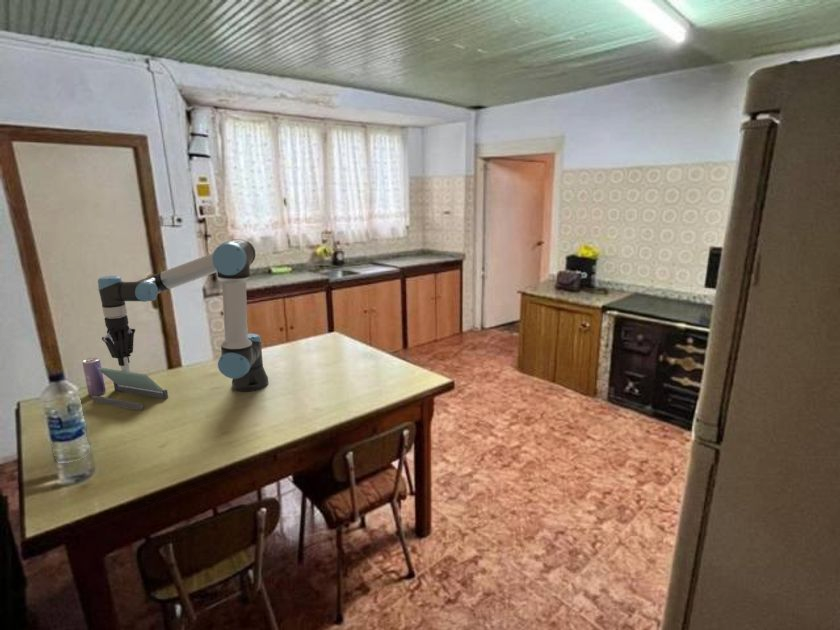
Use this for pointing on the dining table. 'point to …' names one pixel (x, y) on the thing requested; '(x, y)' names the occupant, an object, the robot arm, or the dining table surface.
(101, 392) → the beverage can
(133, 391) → the plastic rails
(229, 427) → the dining table surface
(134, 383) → the cover
